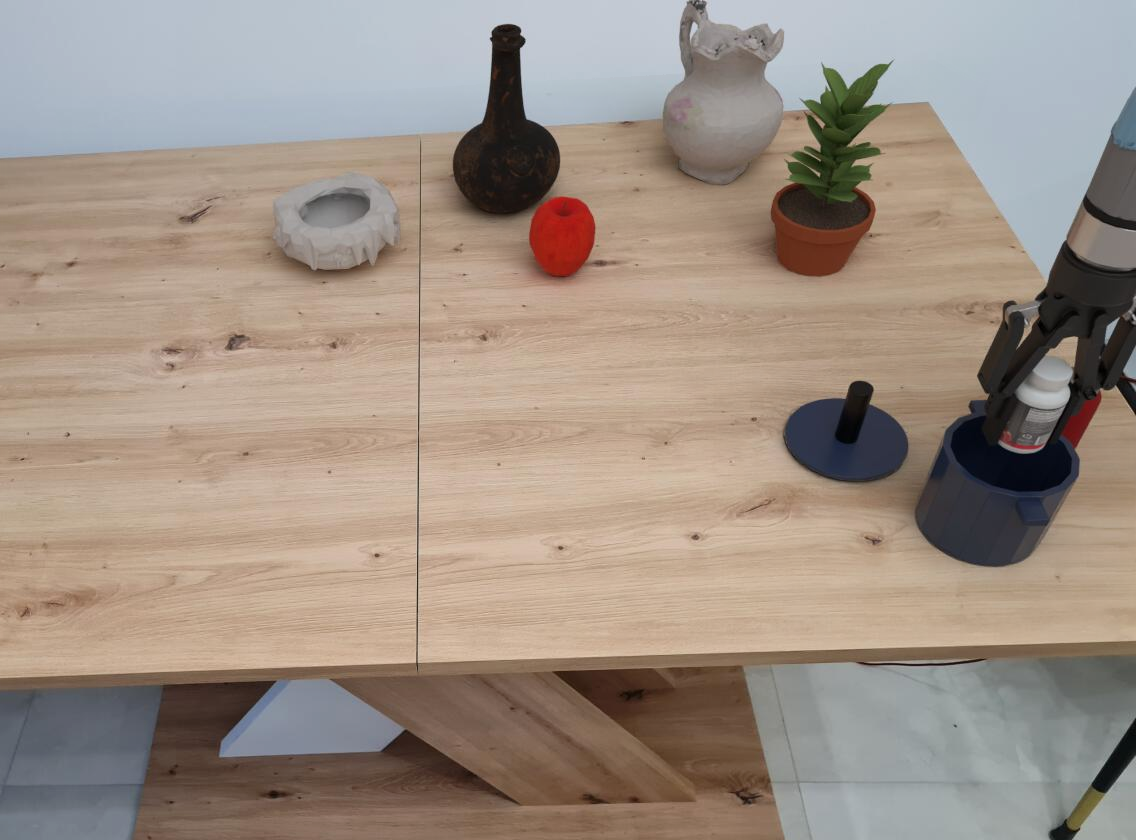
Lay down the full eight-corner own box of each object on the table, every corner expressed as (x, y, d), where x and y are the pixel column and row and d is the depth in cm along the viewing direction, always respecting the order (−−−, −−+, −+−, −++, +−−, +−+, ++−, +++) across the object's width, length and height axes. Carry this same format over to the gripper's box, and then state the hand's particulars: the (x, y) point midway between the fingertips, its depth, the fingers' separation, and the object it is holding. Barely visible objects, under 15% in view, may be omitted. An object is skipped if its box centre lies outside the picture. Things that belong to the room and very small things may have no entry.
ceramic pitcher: (625, 167, 184) (629, 26, 165) (695, 117, 191) (707, -24, 171) (727, 211, 173) (745, 65, 153) (798, 156, 180) (823, 9, 160)
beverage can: (1002, 435, 133) (1038, 360, 124) (1061, 439, 131) (1100, 364, 122) (1011, 472, 128) (1048, 397, 119) (1071, 477, 127) (1113, 402, 118)
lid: (889, 403, 138) (908, 347, 131) (920, 483, 128) (943, 427, 121) (774, 406, 139) (787, 351, 132) (796, 486, 129) (811, 431, 123)
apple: (538, 295, 159) (539, 224, 150) (520, 260, 166) (520, 190, 157) (601, 283, 160) (606, 212, 151) (581, 248, 167) (585, 178, 157)
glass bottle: (469, 236, 171) (463, 64, 150) (442, 182, 183) (433, 16, 162) (573, 215, 173) (581, 43, 152) (540, 163, 185) (543, -3, 164)
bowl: (303, 306, 162) (292, 250, 154) (261, 242, 174) (250, 187, 167) (425, 267, 166) (421, 211, 159) (375, 208, 179) (369, 153, 172)
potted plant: (740, 245, 164) (775, 52, 142) (826, 222, 166) (874, 29, 144) (792, 297, 154) (838, 98, 132) (882, 272, 157) (943, 73, 134)
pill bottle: (983, 422, 115) (1015, 351, 108) (1034, 420, 115) (1069, 349, 108) (999, 456, 112) (1033, 385, 104) (1052, 455, 111) (1090, 383, 104)
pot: (1009, 464, 129) (1044, 393, 121) (1066, 584, 117) (1110, 514, 108) (895, 467, 130) (922, 396, 122) (939, 586, 118) (973, 516, 109)
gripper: (1196, 223, 98) (1094, 410, 115) (990, 231, 99) (920, 415, 116) (1235, 269, 93) (1121, 458, 110) (1017, 277, 94) (939, 462, 111)
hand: (1018, 436), depth 113 cm, fingers closed on pill bottle, 5 cm apart
